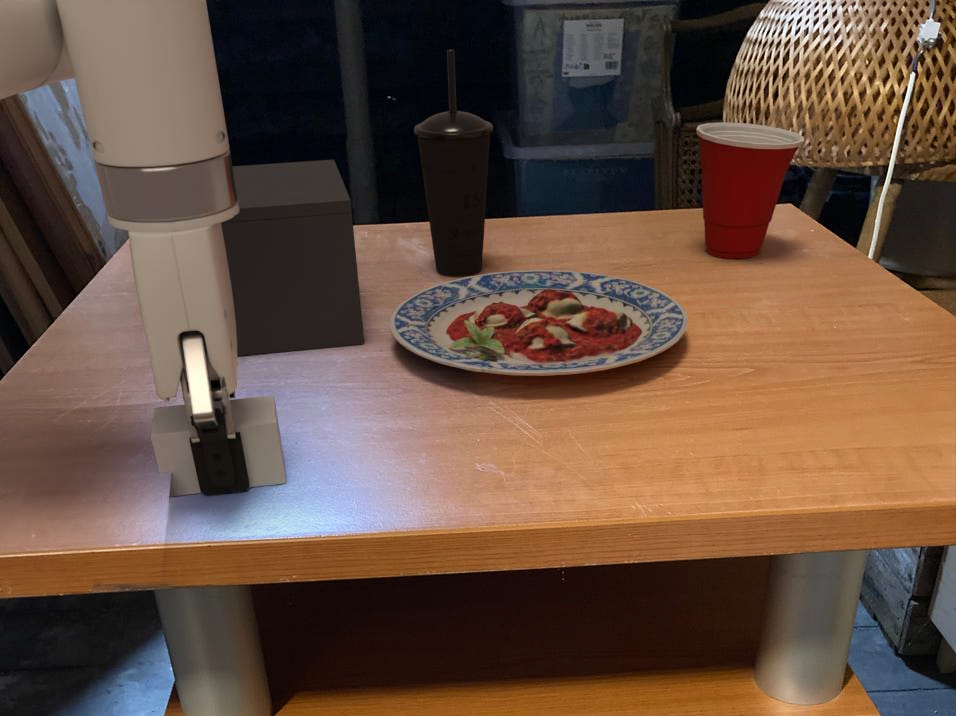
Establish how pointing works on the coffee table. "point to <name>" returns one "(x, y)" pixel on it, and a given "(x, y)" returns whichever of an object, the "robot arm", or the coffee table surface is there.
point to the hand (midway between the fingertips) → (225, 470)
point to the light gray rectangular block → (249, 419)
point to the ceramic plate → (539, 322)
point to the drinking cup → (455, 183)
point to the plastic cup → (742, 183)
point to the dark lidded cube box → (293, 259)
